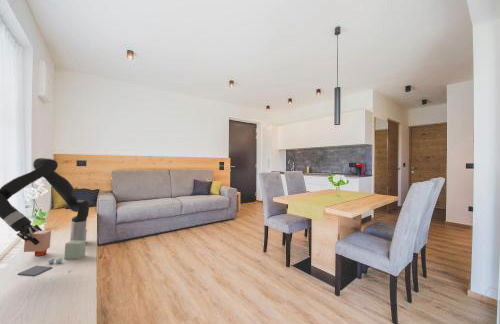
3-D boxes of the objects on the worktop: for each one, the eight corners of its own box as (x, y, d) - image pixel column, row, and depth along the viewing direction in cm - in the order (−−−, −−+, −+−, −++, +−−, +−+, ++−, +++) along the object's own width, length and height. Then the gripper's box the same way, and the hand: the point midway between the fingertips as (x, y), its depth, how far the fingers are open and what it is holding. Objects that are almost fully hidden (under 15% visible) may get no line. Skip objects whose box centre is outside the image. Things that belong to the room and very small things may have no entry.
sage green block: (64, 259, 144) (65, 243, 144) (70, 255, 150) (71, 240, 150) (79, 259, 145) (80, 243, 145) (84, 255, 151) (85, 240, 151)
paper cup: (38, 257, 144) (40, 235, 144) (29, 255, 145) (31, 234, 146) (51, 253, 152) (53, 232, 152) (42, 251, 153) (44, 231, 153)
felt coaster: (36, 266, 132) (36, 265, 132) (52, 267, 131) (52, 266, 131) (17, 274, 122) (17, 273, 122) (34, 276, 121) (34, 275, 121)
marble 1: (51, 262, 138) (51, 257, 139) (55, 262, 138) (56, 257, 138) (46, 264, 135) (46, 259, 136) (51, 264, 135) (51, 259, 135)
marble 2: (58, 261, 140) (59, 256, 140) (63, 262, 139) (63, 257, 139) (54, 263, 137) (54, 258, 137) (58, 264, 136) (59, 259, 136)
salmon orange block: (23, 252, 123) (25, 233, 123) (30, 248, 128) (32, 230, 129) (43, 251, 125) (44, 233, 125) (49, 247, 131) (51, 230, 131)
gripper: (14, 219, 118) (39, 241, 121) (32, 213, 132) (54, 233, 135) (0, 229, 117) (26, 251, 120) (20, 222, 131) (43, 242, 134)
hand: (41, 241), depth 127 cm, fingers closed on salmon orange block, 6 cm apart
